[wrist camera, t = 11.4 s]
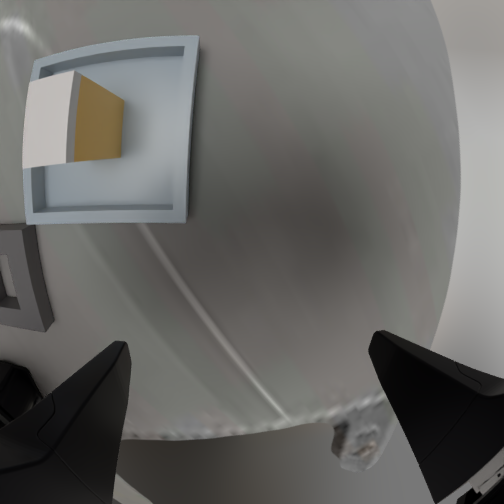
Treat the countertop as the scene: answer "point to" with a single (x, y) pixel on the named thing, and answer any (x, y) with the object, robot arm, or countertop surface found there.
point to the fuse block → (24, 280)
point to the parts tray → (125, 137)
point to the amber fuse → (70, 121)
